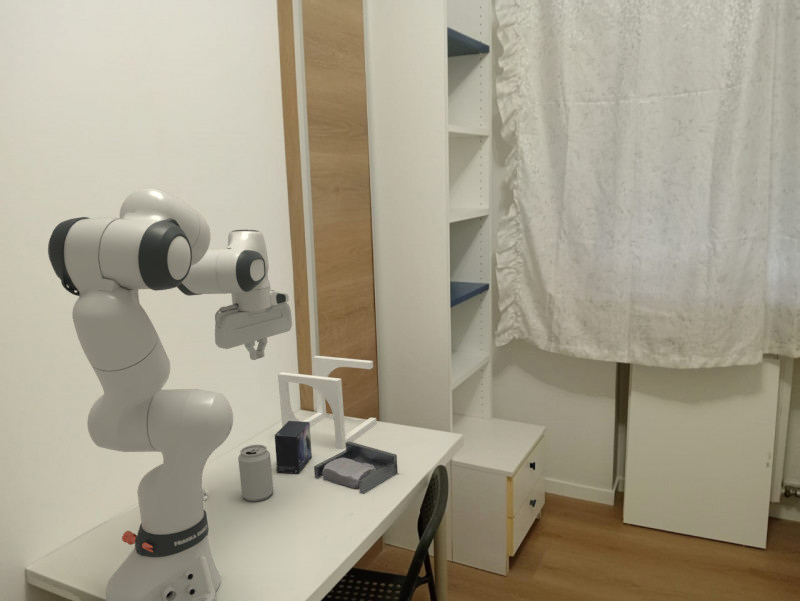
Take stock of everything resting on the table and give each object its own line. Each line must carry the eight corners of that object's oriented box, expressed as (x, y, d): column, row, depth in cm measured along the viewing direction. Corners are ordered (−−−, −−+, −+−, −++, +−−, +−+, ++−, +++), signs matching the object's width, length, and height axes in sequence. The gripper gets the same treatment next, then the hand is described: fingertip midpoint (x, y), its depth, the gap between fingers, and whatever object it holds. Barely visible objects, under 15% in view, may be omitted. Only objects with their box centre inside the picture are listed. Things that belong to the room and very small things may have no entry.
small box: (300, 474, 175) (297, 436, 173) (276, 473, 176) (272, 435, 174) (313, 457, 185) (310, 420, 183) (290, 456, 186) (287, 420, 184)
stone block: (344, 472, 179) (318, 480, 171) (346, 454, 179) (320, 461, 171) (380, 484, 172) (355, 493, 164) (382, 465, 172) (357, 473, 164)
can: (235, 500, 163) (230, 452, 160) (255, 486, 169) (250, 441, 167) (261, 505, 160) (256, 457, 157) (279, 491, 166) (275, 444, 164)
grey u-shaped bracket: (363, 493, 163) (362, 474, 162) (314, 477, 173) (313, 458, 172) (397, 473, 173) (396, 454, 172) (349, 458, 183) (348, 441, 182)
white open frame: (321, 416, 215) (316, 355, 212) (376, 424, 207) (372, 360, 203) (283, 440, 198) (277, 374, 194) (342, 449, 189) (337, 380, 185)
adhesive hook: (196, 501, 164) (195, 489, 163) (203, 496, 166) (202, 484, 166) (206, 503, 163) (205, 491, 162) (213, 498, 165) (212, 486, 165)
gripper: (223, 310, 146) (229, 372, 148) (293, 293, 161) (298, 349, 164) (205, 307, 150) (212, 368, 152) (275, 291, 165) (280, 346, 168)
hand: (257, 358), depth 158 cm, fingers closed
